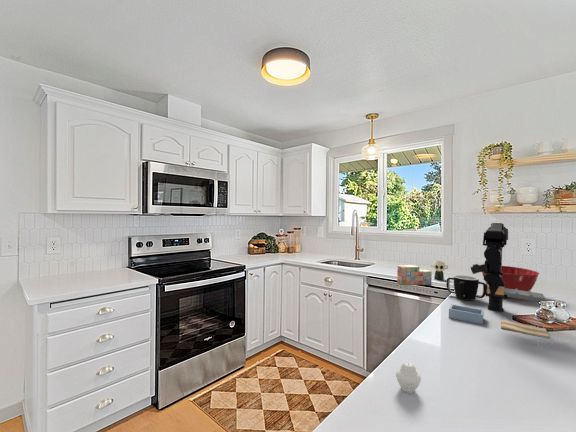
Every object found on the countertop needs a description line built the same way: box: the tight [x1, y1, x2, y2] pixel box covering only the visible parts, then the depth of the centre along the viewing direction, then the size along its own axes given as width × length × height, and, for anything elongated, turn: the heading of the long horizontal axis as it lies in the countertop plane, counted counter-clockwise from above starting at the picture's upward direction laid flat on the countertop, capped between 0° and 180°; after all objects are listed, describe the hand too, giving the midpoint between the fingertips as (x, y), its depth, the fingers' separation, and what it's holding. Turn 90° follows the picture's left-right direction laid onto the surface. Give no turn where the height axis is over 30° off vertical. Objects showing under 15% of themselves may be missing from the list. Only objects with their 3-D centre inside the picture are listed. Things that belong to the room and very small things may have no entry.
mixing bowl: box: [481, 265, 540, 296], centre depth 179 cm, size 28×28×15 cm
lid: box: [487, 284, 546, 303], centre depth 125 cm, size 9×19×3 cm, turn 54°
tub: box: [448, 304, 485, 325], centre depth 135 cm, size 9×13×4 cm
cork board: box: [500, 319, 550, 339], centre depth 124 cm, size 11×15×1 cm
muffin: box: [395, 362, 422, 394], centre depth 79 cm, size 6×6×7 cm
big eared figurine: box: [430, 260, 449, 280], centre depth 218 cm, size 11×7×13 cm, turn 59°
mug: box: [446, 274, 486, 301], centre depth 168 cm, size 16×16×12 cm
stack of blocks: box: [396, 264, 433, 286], centre depth 201 cm, size 21×6×12 cm, turn 98°
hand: (492, 294), depth 130 cm, fingers closed on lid, 3 cm apart
